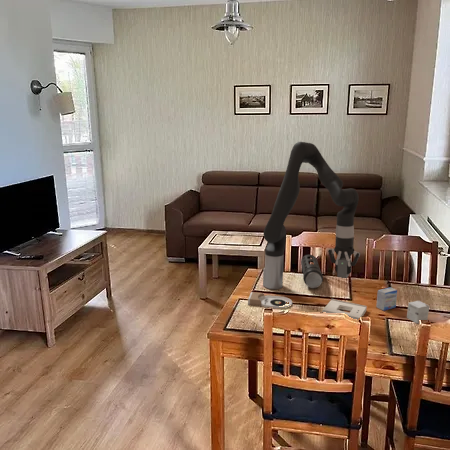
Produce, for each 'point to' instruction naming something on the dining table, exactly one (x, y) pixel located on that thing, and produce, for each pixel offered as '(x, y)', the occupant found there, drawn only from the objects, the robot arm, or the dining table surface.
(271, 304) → the record player
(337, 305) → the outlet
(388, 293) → the medicine box
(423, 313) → the skincare box
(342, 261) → the charger
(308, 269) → the muzzle brake
